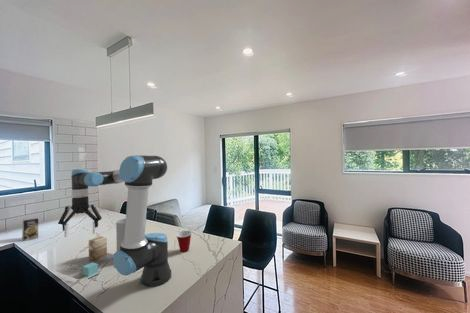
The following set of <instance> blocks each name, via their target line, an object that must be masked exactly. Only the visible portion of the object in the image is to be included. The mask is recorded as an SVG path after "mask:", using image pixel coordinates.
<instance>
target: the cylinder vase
mask: <svg viewBox="0 0 470 313" xmlns="http://www.w3.org/2000/svg"><path fill="white" fill-rule="evenodd" d="M115 224H116V227H115V228H116V230H115V232H116V233H115V234H116V236H115V238H116V252H117V251H118V250H120V243H121V242H122V241H123V240H124V237H125V224H126V217H125V218H122V219H119V220H117V221H116V222H115Z"/></svg>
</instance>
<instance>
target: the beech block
mask: <svg viewBox="0 0 470 313" xmlns="http://www.w3.org/2000/svg"><path fill="white" fill-rule="evenodd" d="M107 242H108V240H107V237H106V236H102V235H99V236H96V237H92V238H90V239H88V251H89V250H93V251H97V250H100V249H102V248H105V247H107V248H108V245H107V244H108V243H107Z"/></svg>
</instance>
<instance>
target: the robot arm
mask: <svg viewBox="0 0 470 313" xmlns="http://www.w3.org/2000/svg"><path fill="white" fill-rule="evenodd" d="M167 171H168V164H167V162H166V160H165V159H164V158H163V157H162V156H160V155H159V156H158V155H139V154H138V155H137V154H136V155H129V156H127V157H125V159H122V162H121V163H120V165H119V169H117V170H115V169H114V170H110V171H92V172H91V171H90V172H89V170H88V169H87V168H79V169H78V168H76V169H75V168H74V169H72V171H71V175H70V176H71V197H72V198H71V206H70V205H67V206H64V211H63V212H62V215H61V217H60V218H59V221H58V222H57V224H58V225H62V231H63V232H64V238H67V237H69V232H70V231H69V230H70V229H69V228H70V226H69V223H68V222H69V221H70V220H71V219H72V218H73V217H74V216H75V215H76V214H77V215H78V214H86V215H87V216H88V217H89V218H90V219H91V220H92V234H93V235H95V234H96V233H97V228H98V227H99V222H100V221H101V220H102V216H101V214H100V212H99V210H98V209H97V207H96V203H92V204H89V203H90V202H89V200H90V199H89V187H90V188H91V187H92V188H94V187H98V186H105V185H113V184H115V185H116V184H121V183H124V186H125V187H126V188H127V198H126V212H125V218H126V224H125V237H124V240H123V241H122V242H121V243H120V250H118V251H117V250H116V251H115V253H113V254H114V256H113V259H112V260H113V261H112V262H113V265H114V268H115V269H116V272H118V274H120V275H122V276H129V275H131V274H135V273H136V272H137V271H139V270H141V269H142V274H141V275H140V284H141V285H142V286H144V287H146V288H147V287H148V288H149V287H150V288H151V287H157V286H161V285H163V284H165V283H167V282H168V281H170V280H171V278H172V270H171V267H170V266H171V265H170V263H169V261H168V256H169V255H168V254H169V252H168V251H169V250H168V246H169V245H168V236H167V235H166V233H163V232H153V233H146V224H147V210H148V209H147V208H148V199H149V198H148V197H149V188H151V187H152V186H153V180H156V179H160V178H162V177H163V176H165V174H166V173H167ZM89 208H90V209H91V211H92V212H91V211H90V209H89ZM70 210H72V212H71V213H70V214H69V211H70ZM68 214H69V215H68ZM67 215H68V217H67Z"/></svg>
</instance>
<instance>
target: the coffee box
mask: <svg viewBox="0 0 470 313" xmlns="http://www.w3.org/2000/svg"><path fill="white" fill-rule="evenodd" d="M21 233H22V235H21V236H22V238H21V239H22V241H23V242H26V241H31V240H35V239H39V218H30V219H23V220H22V232H21Z"/></svg>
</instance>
